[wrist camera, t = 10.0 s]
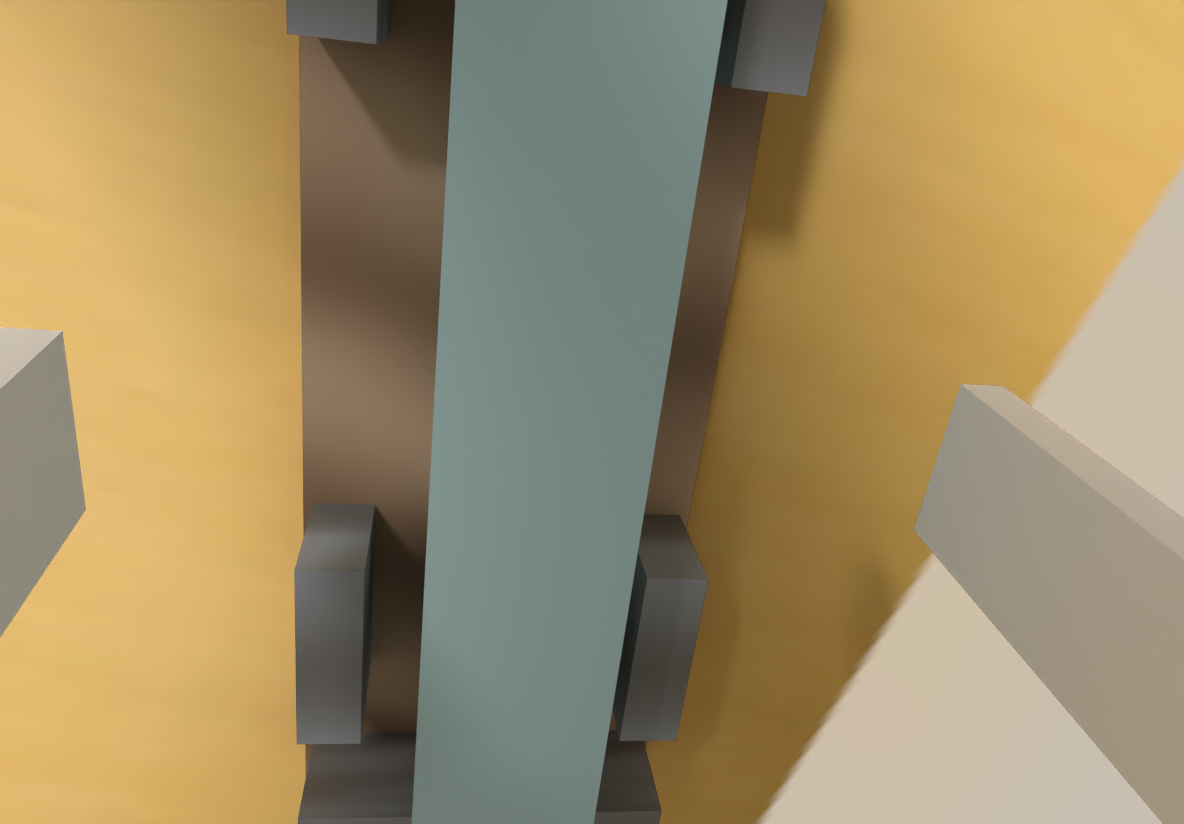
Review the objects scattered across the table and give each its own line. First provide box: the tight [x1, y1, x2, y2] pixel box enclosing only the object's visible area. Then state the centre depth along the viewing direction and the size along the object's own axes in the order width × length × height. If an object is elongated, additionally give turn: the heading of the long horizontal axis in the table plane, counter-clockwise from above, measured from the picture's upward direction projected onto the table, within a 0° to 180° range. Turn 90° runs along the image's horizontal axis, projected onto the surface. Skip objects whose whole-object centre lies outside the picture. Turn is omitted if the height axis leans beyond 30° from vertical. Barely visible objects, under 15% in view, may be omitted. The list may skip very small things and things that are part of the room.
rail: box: [412, 0, 728, 824], centre depth 19 cm, size 22×4×6 cm, turn 173°
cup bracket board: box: [286, 0, 826, 824], centre depth 20 cm, size 30×10×4 cm, turn 173°
